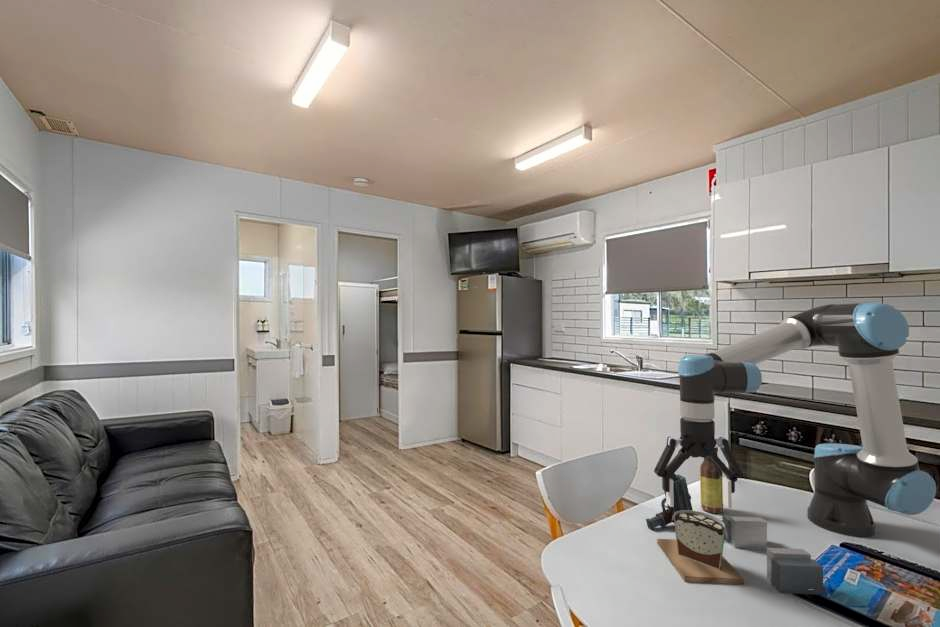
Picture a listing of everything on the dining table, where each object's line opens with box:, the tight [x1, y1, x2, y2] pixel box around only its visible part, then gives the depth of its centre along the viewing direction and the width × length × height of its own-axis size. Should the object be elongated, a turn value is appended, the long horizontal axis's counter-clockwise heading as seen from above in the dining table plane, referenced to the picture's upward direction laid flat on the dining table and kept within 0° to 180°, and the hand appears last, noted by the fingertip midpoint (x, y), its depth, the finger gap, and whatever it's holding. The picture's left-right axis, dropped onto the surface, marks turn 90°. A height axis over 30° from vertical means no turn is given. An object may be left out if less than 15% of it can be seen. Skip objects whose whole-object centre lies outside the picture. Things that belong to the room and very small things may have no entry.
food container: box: [672, 510, 728, 570], centre depth 107 cm, size 12×6×10 cm, turn 44°
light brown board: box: [656, 538, 745, 585], centre depth 107 cm, size 13×17×1 cm
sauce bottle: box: [699, 445, 724, 514], centre depth 137 cm, size 7×6×20 cm
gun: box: [645, 473, 694, 531], centre depth 126 cm, size 3×17×15 cm
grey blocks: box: [719, 514, 824, 596], centre depth 109 cm, size 9×28×7 cm, turn 176°
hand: (698, 505), depth 108 cm, fingers open, 13 cm apart
